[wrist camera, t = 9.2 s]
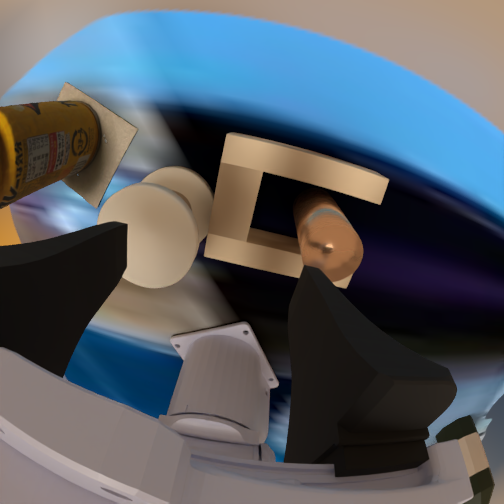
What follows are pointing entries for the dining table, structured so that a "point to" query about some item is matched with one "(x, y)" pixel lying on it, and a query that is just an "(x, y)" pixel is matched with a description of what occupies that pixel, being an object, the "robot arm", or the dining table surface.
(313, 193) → the copper peg
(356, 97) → the dining table surface
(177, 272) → the bobbin
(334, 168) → the notched board
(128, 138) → the condiment
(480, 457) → the wine bottle
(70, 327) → the robot arm
